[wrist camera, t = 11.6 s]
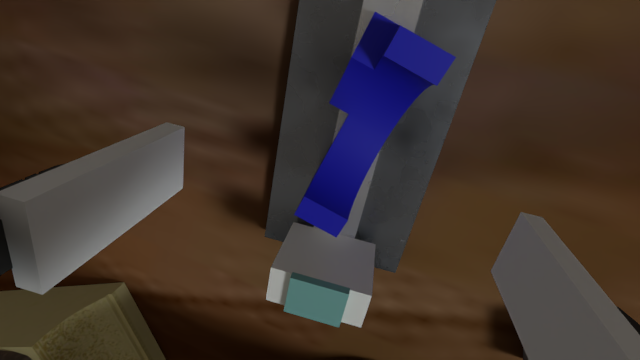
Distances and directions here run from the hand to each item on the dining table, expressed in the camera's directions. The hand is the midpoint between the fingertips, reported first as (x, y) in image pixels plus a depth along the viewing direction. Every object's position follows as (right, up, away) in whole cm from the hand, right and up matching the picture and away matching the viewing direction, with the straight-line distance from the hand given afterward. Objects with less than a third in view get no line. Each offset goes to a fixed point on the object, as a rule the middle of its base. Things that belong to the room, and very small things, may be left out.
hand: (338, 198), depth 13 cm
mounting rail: (+3, +6, +12) cm, 14 cm away
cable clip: (+2, +5, +11) cm, 12 cm away
